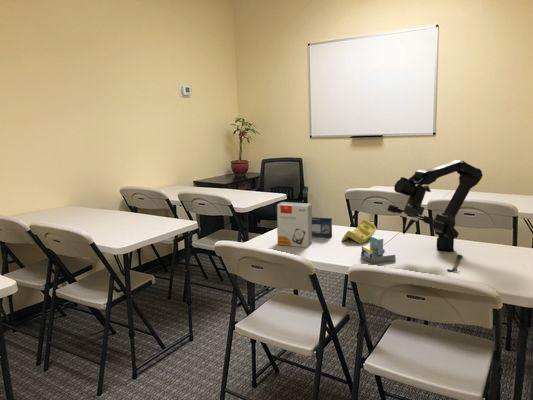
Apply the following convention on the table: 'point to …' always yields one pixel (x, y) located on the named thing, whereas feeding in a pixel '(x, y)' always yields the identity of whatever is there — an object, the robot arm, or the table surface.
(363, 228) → the plastic component
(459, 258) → the tomahawk
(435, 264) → the table surface
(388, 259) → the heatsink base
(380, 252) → the grey-blue brushed block
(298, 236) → the hard drive box
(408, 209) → the robot arm
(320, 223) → the vhs cassette tape
